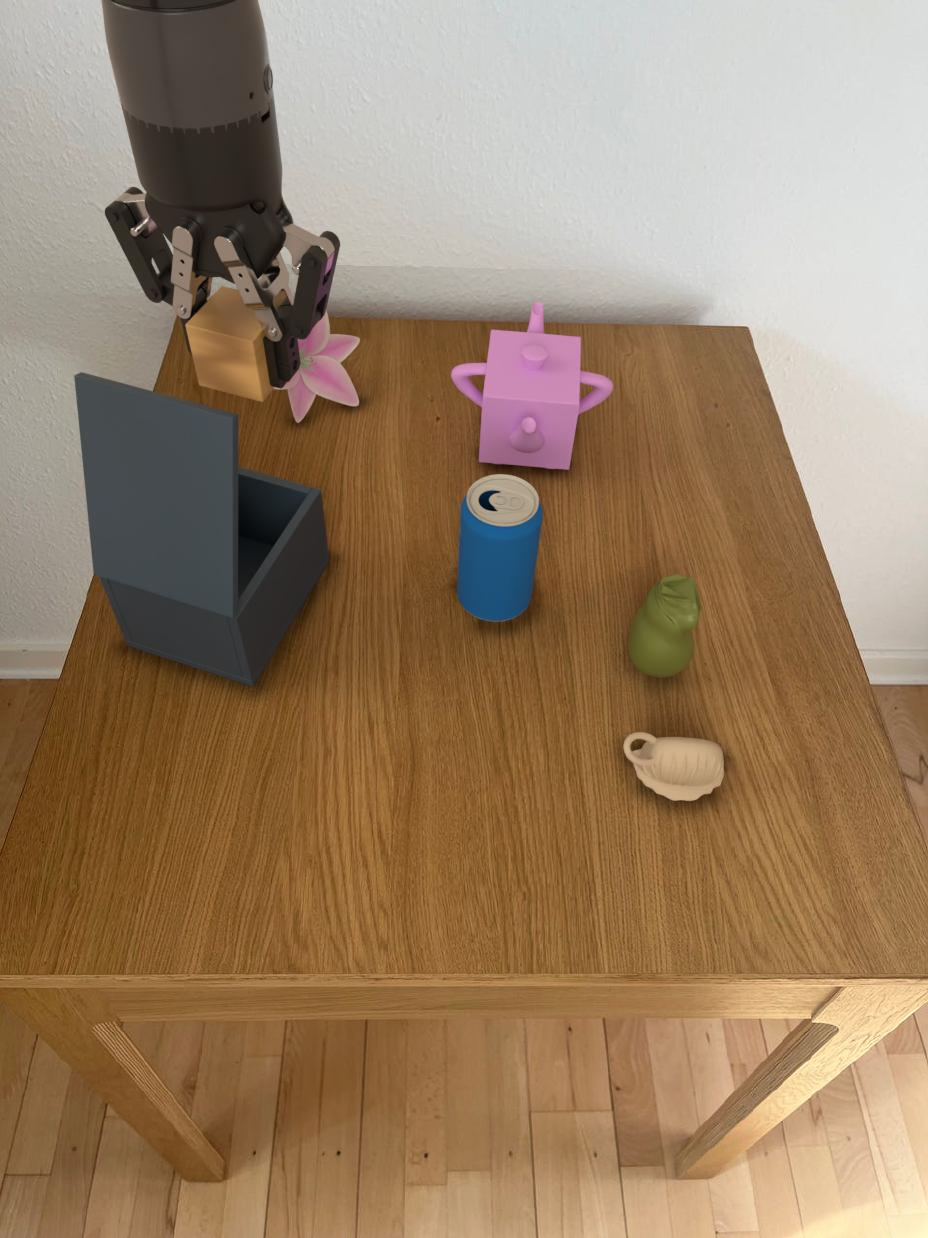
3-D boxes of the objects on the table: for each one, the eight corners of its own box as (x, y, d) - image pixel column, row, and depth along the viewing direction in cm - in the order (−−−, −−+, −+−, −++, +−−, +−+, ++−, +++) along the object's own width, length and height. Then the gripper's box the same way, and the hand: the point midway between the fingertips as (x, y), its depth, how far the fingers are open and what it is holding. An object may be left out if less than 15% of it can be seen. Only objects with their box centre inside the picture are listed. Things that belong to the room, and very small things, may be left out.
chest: (213, 527, 86) (195, 454, 79) (329, 561, 84) (321, 489, 77) (126, 646, 78) (98, 575, 71) (253, 687, 76) (236, 619, 69)
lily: (233, 427, 96) (250, 382, 88) (238, 326, 100) (254, 274, 91) (347, 445, 101) (373, 404, 92) (348, 348, 104) (373, 299, 96)
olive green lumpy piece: (620, 635, 80) (641, 555, 72) (682, 638, 80) (710, 559, 72) (625, 689, 77) (648, 612, 69) (690, 692, 77) (720, 616, 69)
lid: (81, 371, 62) (73, 374, 62) (239, 413, 60) (232, 417, 59) (99, 569, 71) (93, 574, 70) (238, 612, 69) (232, 618, 68)
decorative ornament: (723, 806, 70) (743, 770, 66) (612, 793, 71) (624, 757, 66) (720, 759, 73) (739, 722, 69) (612, 746, 73) (624, 709, 69)
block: (198, 385, 60) (184, 324, 56) (232, 346, 62) (221, 284, 59) (262, 402, 59) (252, 341, 55) (294, 361, 61) (286, 300, 58)
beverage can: (462, 566, 84) (467, 465, 75) (533, 575, 84) (547, 475, 75) (451, 621, 80) (455, 523, 71) (527, 631, 80) (540, 533, 71)
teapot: (427, 423, 96) (428, 332, 88) (530, 379, 101) (540, 288, 93) (518, 512, 89) (529, 422, 80) (624, 459, 94) (645, 369, 86)
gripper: (27, 91, 46) (116, 378, 59) (293, 146, 43) (324, 434, 57) (112, 35, 50) (178, 314, 64) (358, 82, 48) (372, 363, 61)
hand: (246, 369), depth 60 cm, fingers closed on block, 4 cm apart
